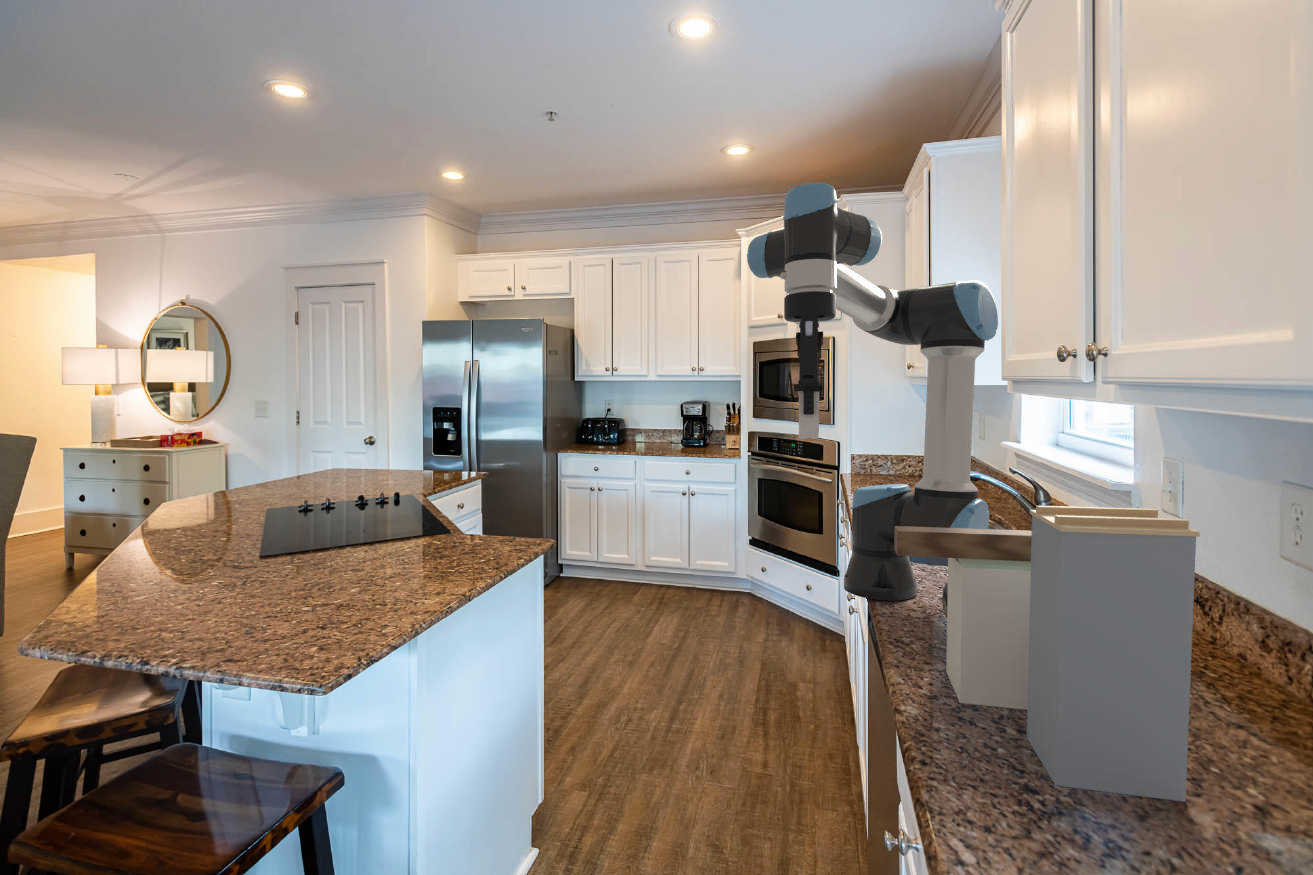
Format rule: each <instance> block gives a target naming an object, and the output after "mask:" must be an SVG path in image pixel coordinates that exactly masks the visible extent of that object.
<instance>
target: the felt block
mask: <svg viewBox="0 0 1313 875" xmlns="http://www.w3.org/2000/svg"><path fill="white" fill-rule="evenodd" d="M947 582H948V599H947V617H946V620H947V621H946V662H945V663H946V669H945V670H946V675H947V677H948V679H949V681H950V684H951V687H953V691H954V694H956V697H957V699H958V702H959V703H960V704H967V705H975V706H986V707H995V708H996V707H997V708H1006V709H1007V708H1008V709H1017V710H1026V711H1027V708H1028V666H1029V624H1030V582H1031V562H1029V561H1007V560H984V559H962V558H947Z"/></svg>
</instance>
